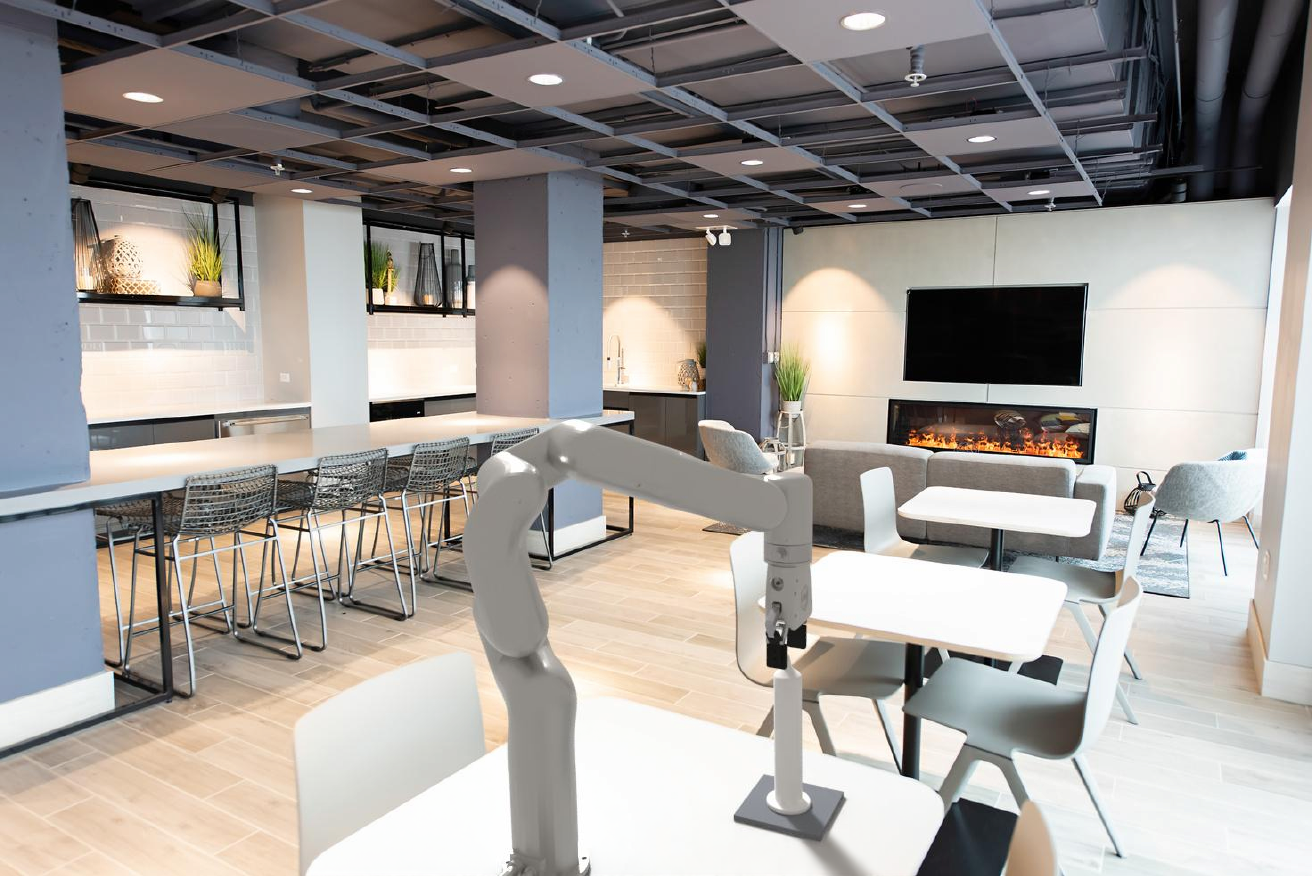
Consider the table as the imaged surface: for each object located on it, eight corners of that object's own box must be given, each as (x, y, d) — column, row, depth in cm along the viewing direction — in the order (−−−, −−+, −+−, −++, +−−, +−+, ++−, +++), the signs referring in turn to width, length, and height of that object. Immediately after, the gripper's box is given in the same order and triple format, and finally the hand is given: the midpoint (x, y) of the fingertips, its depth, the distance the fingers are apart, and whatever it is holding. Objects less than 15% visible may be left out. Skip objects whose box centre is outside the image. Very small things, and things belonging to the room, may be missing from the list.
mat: (819, 841, 129) (819, 836, 129) (733, 819, 135) (733, 814, 135) (844, 796, 142) (844, 791, 141) (763, 778, 148) (763, 774, 148)
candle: (810, 817, 134) (809, 664, 131) (765, 813, 136) (763, 661, 133) (811, 793, 141) (810, 647, 138) (768, 790, 142) (766, 645, 140)
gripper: (793, 567, 124) (792, 680, 126) (826, 542, 140) (825, 643, 141) (745, 562, 128) (745, 672, 129) (782, 538, 143) (781, 637, 145)
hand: (786, 657), depth 135 cm, fingers open, 9 cm apart
